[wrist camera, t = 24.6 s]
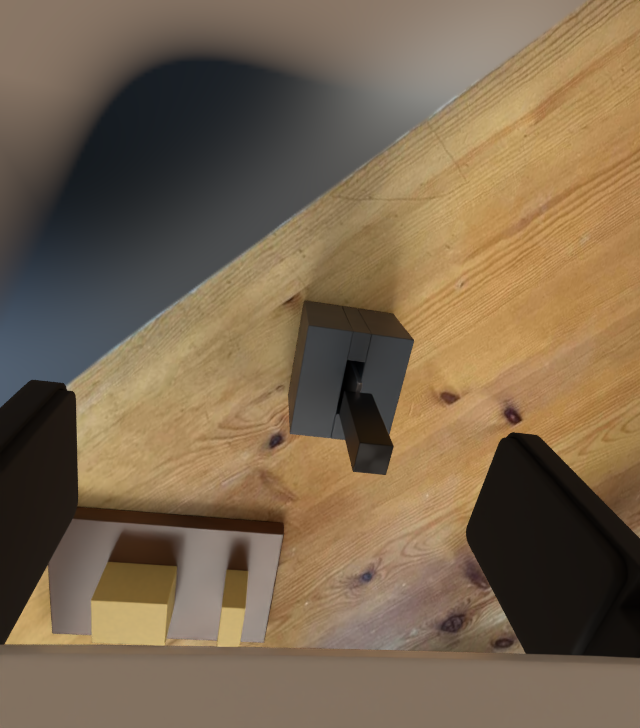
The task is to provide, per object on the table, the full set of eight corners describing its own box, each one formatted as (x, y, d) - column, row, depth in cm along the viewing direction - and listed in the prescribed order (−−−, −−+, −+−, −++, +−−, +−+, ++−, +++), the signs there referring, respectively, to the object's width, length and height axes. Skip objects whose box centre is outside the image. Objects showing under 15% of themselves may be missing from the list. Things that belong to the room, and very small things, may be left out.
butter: (107, 602, 43) (91, 643, 39) (107, 561, 41) (90, 600, 37) (174, 605, 43) (164, 646, 40) (177, 565, 42) (167, 604, 38)
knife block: (288, 395, 38) (289, 434, 32) (303, 300, 35) (308, 325, 29) (371, 405, 39) (387, 444, 33) (393, 313, 36) (414, 340, 30)
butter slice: (221, 608, 44) (216, 648, 40) (226, 568, 42) (221, 607, 39) (242, 609, 44) (239, 649, 41) (248, 570, 43) (245, 608, 39)
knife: (325, 372, 37) (350, 481, 24) (332, 337, 36) (362, 432, 23) (347, 375, 37) (383, 484, 24) (355, 340, 36) (396, 436, 23)
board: (58, 619, 45) (51, 633, 44) (52, 504, 40) (44, 516, 38) (264, 629, 48) (264, 643, 46) (283, 522, 43) (284, 534, 41)
